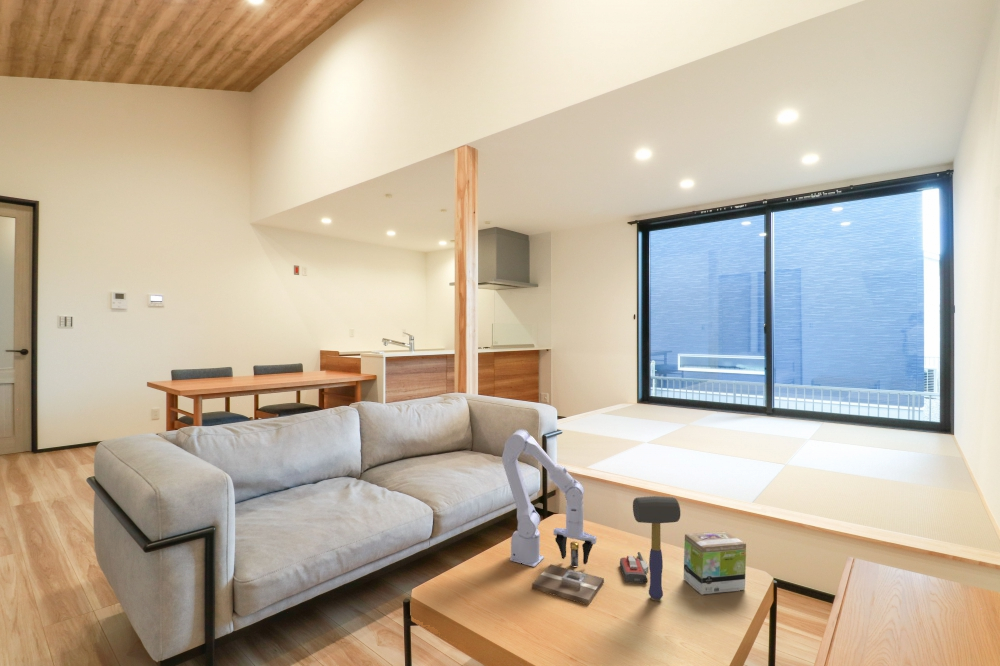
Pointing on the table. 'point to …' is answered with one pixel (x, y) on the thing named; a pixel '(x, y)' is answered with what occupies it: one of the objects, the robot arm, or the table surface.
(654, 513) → the rubber mallet
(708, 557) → the tea box
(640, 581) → the walkie-talkie
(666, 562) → the table surface
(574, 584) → the pilot socket
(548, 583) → the board
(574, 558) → the gold-capped cylinder
